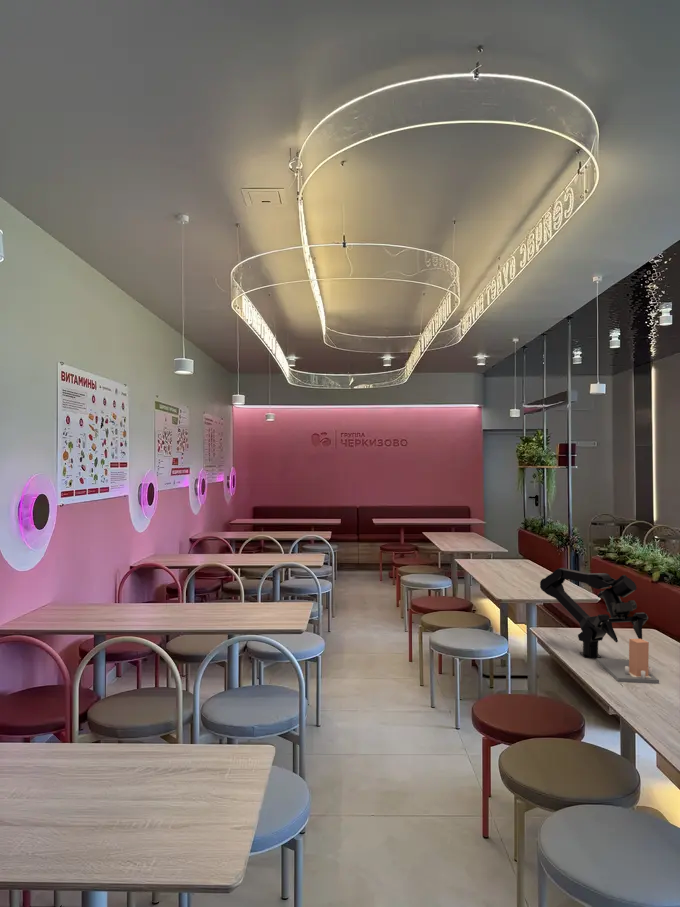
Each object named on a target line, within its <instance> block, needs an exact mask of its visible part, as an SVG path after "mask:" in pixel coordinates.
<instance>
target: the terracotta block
mask: <svg viewBox="0 0 680 907" xmlns="http://www.w3.org/2000/svg"><path fill="white" fill-rule="evenodd" d="M628 643H629V645H628V646H629V647H628V648H629V649H628V660H629V672H630V673H631V674H633V675H635V676H641V671H642V670H643V671H645V676H648V667H649V656H650V655H649V654H650V652H649V649H650V647H649V645H650V643H649V641H647V640H645V639H643V638H642V639H639V638H629V640H628Z"/></svg>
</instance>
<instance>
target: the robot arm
mask: <svg viewBox="0 0 680 907" xmlns="http://www.w3.org/2000/svg"><path fill="white" fill-rule="evenodd" d="M566 580H569V581H574V582H580V583H584V584H587V585H588V586H589V587H591V588H593V589H596V590H599V592H598V594H597V598H599V599H600V598H601V599H603V601H604V603H605V606H606V612H607V613H609V614H607V613H606V614H602V613H601V614H597V616H596V615H594V616H590V615H589V614H588V613H587V612H586V611H585V610H583V608H582V607H581V606H580V605H579V604H578V603H577V602H576V601H575V600H574V598H572V597H571V596H570V595H569V594H568V593H567V592H566V591H565V589H564V585H563V583H564V582H565V581H566ZM539 588H540V589H541V591H543V592H544V593H545V594H546V595H548V596H550V597H551V598H554V599H555V600H557V602H558V603H560V605H561V606H562V607H563V608H564V609H565V610H566V611H567V612H568V613H569V614H570V615H571V616H572V617H573V618H574V619H575V620H576V621H577V622H578V623H579V627H580V630H581V632H579V634H577V638H578V641H580V642H582V651H579V654H580V655H581V656H582V657H583V658H584V659H585V658H586V659H596V658H602V657H601V656H602V655H601V656H600V655H599V641H603V640H604V637H605V636H606V635H607V636H609V637H610V638H611V639H612V640H613V641H614V642H615V643H618V642H619V640H618V637H617V634H616V632H615V630H614V628H613V624H614V623H615V624H616V623H619V624H620V623H630V624H631V625H632V629H633V630H634V633H635V635H636V636H637V639H642V640H643V626H644V625H645V624H646V622H647V621H648V620H649V616H648V614H647V613H646V612H643V611H642V612H635V613H634V614H633V615H632V616H629V615H631V612H634V610H636V609H637V608H638V605H637V602H636V601H635V600H634V599H633V600H628V601H626V602H625V601H622V599H621V598H625V597H627V596H629V595H630V594H632V593H633V592H635V591H636V590H637V585H636V582H635V581H634V580H632V579H631V578H630V577H628V576H627V575H626V574H622V575H620V576H619V577H618V578H617V579H615V578H613V577H612V576H610V574H609V573H604V572H602V573H601V572H598V573H597V572H595V573H594V572H593V573H592V572H591V573H589V572H584V571H580V570H574V569H569V568H567V567H560V568H559V567H558V568H556V569H555V570H554V571H553V572H552V573H550V574H548V575H547V576H546V577H544V578H542V579H541V580H540V582H539ZM600 589H601V590H600ZM602 589H603V590H602Z"/></svg>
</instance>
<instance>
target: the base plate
mask: <svg viewBox="0 0 680 907" xmlns="http://www.w3.org/2000/svg"><path fill="white" fill-rule="evenodd" d="M595 659H596V660H595V661H596V662H597V664H599V665H600V666H601V667H602V668H603V669H604V670H605V671H606V672H607V673H608V674H609V675H611V677H613V678H614V679H615V680H616V681H617V682H618V683H619V682H626V683H640V684H641V683H642V684H660V679H658V678H657V677H656V676H655V675H653V667H649V666H648V676H645V671H643V670H642V671H641V676H635V675H633V674H631V673H630V672H629V659H627V658H625V659H624V658H623V659H621V658H603V657H601V658H595Z"/></svg>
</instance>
